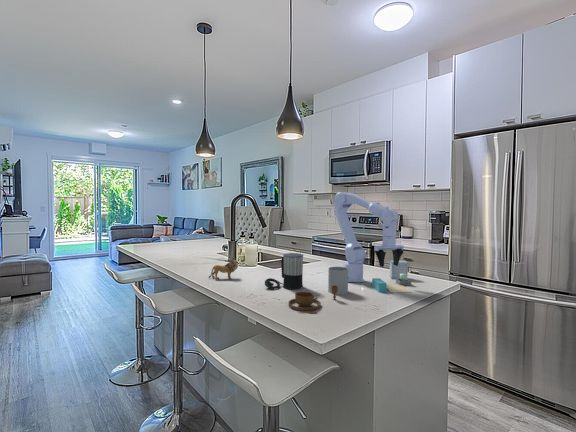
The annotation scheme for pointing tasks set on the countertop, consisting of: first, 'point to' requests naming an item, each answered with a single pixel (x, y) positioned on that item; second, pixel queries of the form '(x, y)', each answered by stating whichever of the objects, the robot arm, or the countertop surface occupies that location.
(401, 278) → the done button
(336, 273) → the cup
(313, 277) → the countertop surface
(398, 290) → the kraft paper
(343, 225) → the robot arm
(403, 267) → the medicine box
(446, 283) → the countertop surface
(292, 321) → the countertop surface
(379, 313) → the countertop surface
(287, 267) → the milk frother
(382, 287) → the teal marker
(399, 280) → the button housing
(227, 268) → the lion figurine
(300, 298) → the place setting
